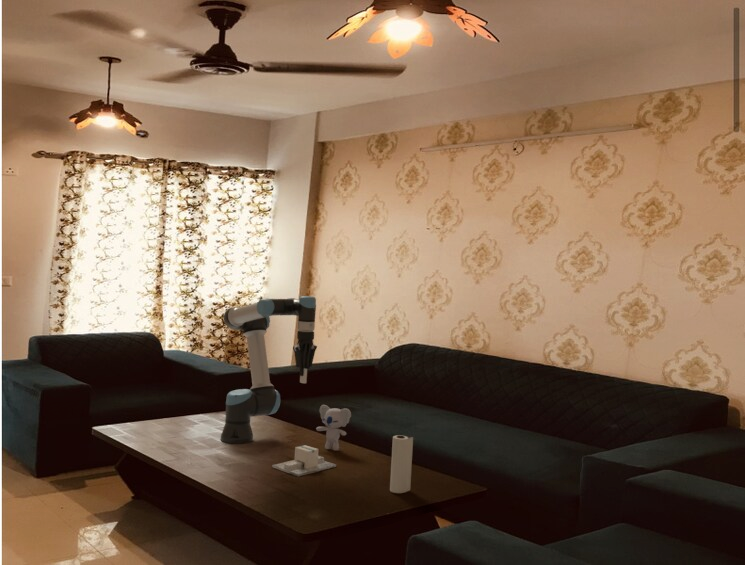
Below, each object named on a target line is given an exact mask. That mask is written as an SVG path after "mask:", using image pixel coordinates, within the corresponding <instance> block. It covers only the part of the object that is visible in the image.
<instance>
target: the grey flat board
mask: <svg viewBox="0 0 745 565" xmlns="http://www.w3.org/2000/svg"><path fill="white" fill-rule="evenodd" d="M294 460H295V459H292V460H287V461H284V462H281V463H275V464H272V465H271V468H273V469H276V470H278V471H281V472H284V473H285V474H286V473H287V474H290V475H292V476H295V477H303V476H305V475H310V474H314V473H318V472H321V471H325V470H329V469H333V468H336V467H337V464H336V463H332V462H329V461H326V460H325V457H324V456H321V455H318V466H314V467H310V468H305V467H304V464H305V462H302V461H295V462H294Z"/></svg>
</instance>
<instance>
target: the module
mask: <svg viewBox="0 0 745 565" xmlns="http://www.w3.org/2000/svg"><path fill="white" fill-rule="evenodd" d="M318 456H319V448H316V447H312V446H309V445H305V444H304V445H299V446H295V447H294V459H293V460H294V462H295V461H302V462H305V464H304V467H305V468H310V467H314V466H318Z"/></svg>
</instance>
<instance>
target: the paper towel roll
mask: <svg viewBox="0 0 745 565" xmlns="http://www.w3.org/2000/svg"><path fill="white" fill-rule="evenodd" d="M391 445H392V447H391V461H390V462H391V463H390V479H389V480H390V481H389V491H390V492H391V493H394V494H403V493H404V494H405V493H407V492H409V491H411V484H412V483H411V481H412V464H413V463H412V461H413V446H414V437H413V436H411V437H409V436H407V435H401V434H400V435H399V434H398V435H397V434H396V435H393V436H392V444H391Z"/></svg>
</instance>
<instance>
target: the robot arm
mask: <svg viewBox="0 0 745 565" xmlns="http://www.w3.org/2000/svg"><path fill="white" fill-rule="evenodd" d="M316 311H317V298H316V297H315V296H310V295H309V296H308V295H302V296H299V299H298V298H295V297H294V298H293V297H292V298H291V297H289V298H288V297H287V298H268V297H267V298H261V299H259V300H258V301H257V302H254V303H252V304H251V303H250V304H246V305H244V306H233V307H229V308H228V309H227V310H225V312H224V314H223V322H224V324H225V325H226V326H227V328H229V329H231V330H234V331H242V335H243V336H244V337H246V342H247V343H246V344H247V350H248V358H249V359H248V361H249V367H250V368H249V369H250V374H251V375H250V376H251V383H252V386H251V387H250V389H248V388H242V389H241V388H240V389H239V388H238V389H235V390H231V391H229V392H228V393H227V395H226V401H225V418H224V419H225V420H224V422H225V423H224V426H223V429H222V432H221V434H220V440H221V441H222V442H223V443H228V444H237V445H238V444H240V445H241V444H247V443H248V444H249V443H251V442H252V441H254V434H253V431H252V426H251V418H252V417H260V416H269V415H273V414H276V413H277V411H278V410H279V408H280V405H281V394H280V392H279V391H278V390H276V389H275V386H274V385H273V384H272V383H271V380H270V371H269V370H270V369H269V364H268V362H269V361H268V357H267V356H268V355H267V348H266V340H265V335H266V333H267V329H269V327H270V323H271V319H270V318H271V317H272V316H294V317H295V316H296V317H298V320H297V335H296V337H297V338H296V339H297V343H296V345H295V346H293V347H292V350H293V352H294V359H295V367H296V368H298V369H299V383H301V384H307V381H308V380H307V378H308V375H309V374H308V373H309V369H311V367H312V366H313V362H314V358H315V353H316V351H317V347H318V346H317V345H315V344H314V340H315V328H316V326H315V325H316Z"/></svg>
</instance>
